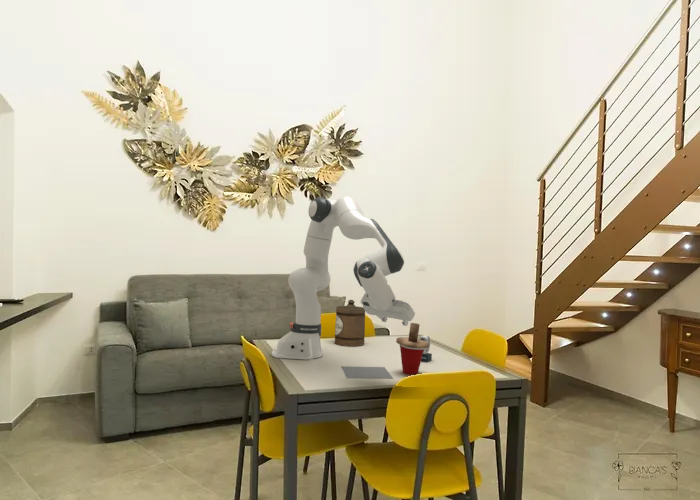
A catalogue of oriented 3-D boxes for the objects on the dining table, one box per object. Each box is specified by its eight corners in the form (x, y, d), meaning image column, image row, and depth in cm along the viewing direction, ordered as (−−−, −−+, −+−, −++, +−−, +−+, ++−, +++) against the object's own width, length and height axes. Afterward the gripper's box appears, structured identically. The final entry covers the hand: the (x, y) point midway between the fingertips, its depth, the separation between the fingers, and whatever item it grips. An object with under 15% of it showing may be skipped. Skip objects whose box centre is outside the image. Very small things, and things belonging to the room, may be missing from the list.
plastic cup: (423, 378, 208) (425, 347, 208) (395, 375, 210) (397, 345, 210) (425, 372, 219) (426, 342, 218) (398, 369, 221) (400, 340, 221)
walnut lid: (400, 346, 207) (403, 325, 206) (392, 338, 220) (395, 319, 219) (432, 349, 209) (435, 328, 208) (423, 341, 222) (425, 322, 221)
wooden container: (335, 340, 277) (337, 297, 277) (364, 341, 277) (366, 299, 276) (333, 345, 262) (335, 300, 262) (363, 347, 262) (366, 302, 261)
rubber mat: (346, 379, 202) (346, 378, 202) (341, 367, 220) (341, 366, 220) (393, 379, 204) (393, 378, 204) (384, 367, 222) (384, 367, 222)
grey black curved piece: (414, 360, 238) (415, 336, 238) (421, 357, 245) (423, 333, 244) (425, 363, 235) (427, 338, 235) (433, 359, 242) (434, 335, 241)
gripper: (410, 295, 192) (422, 320, 200) (364, 289, 204) (377, 312, 212) (403, 308, 189) (415, 333, 197) (356, 301, 201) (370, 324, 209)
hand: (395, 322), depth 205 cm, fingers open, 8 cm apart
